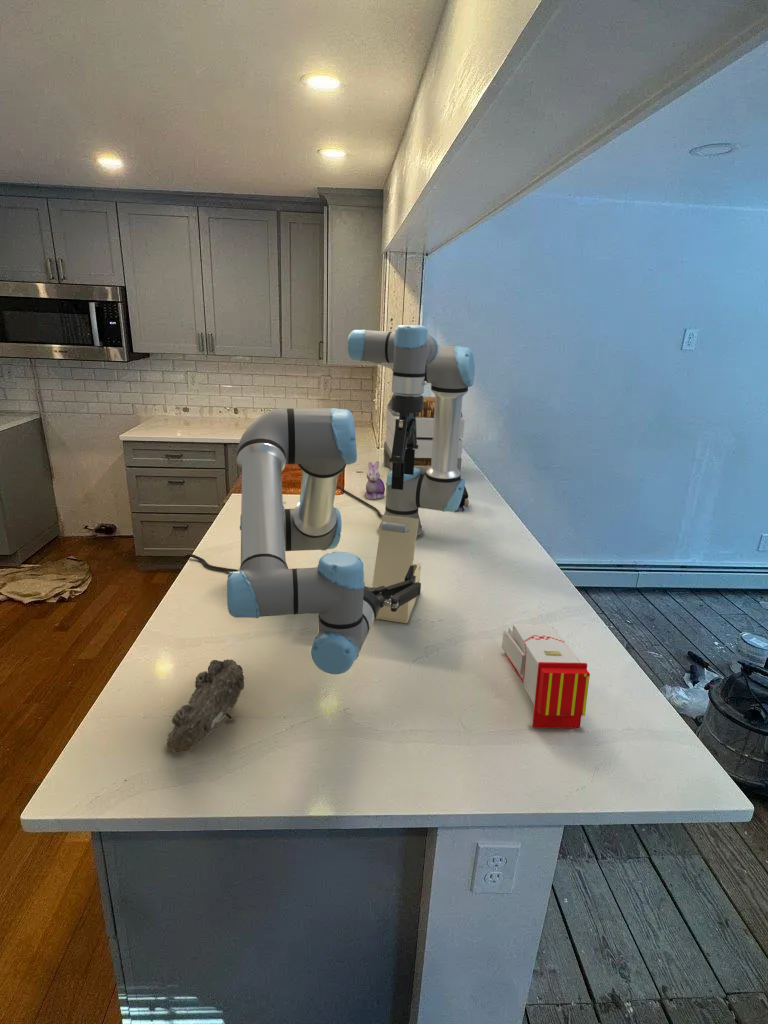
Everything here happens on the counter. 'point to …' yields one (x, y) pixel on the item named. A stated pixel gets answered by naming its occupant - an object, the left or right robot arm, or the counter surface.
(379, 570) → the lid
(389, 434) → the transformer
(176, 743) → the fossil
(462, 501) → the figurine character
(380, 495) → the figurine
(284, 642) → the counter surface
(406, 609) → the chest
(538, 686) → the toy
